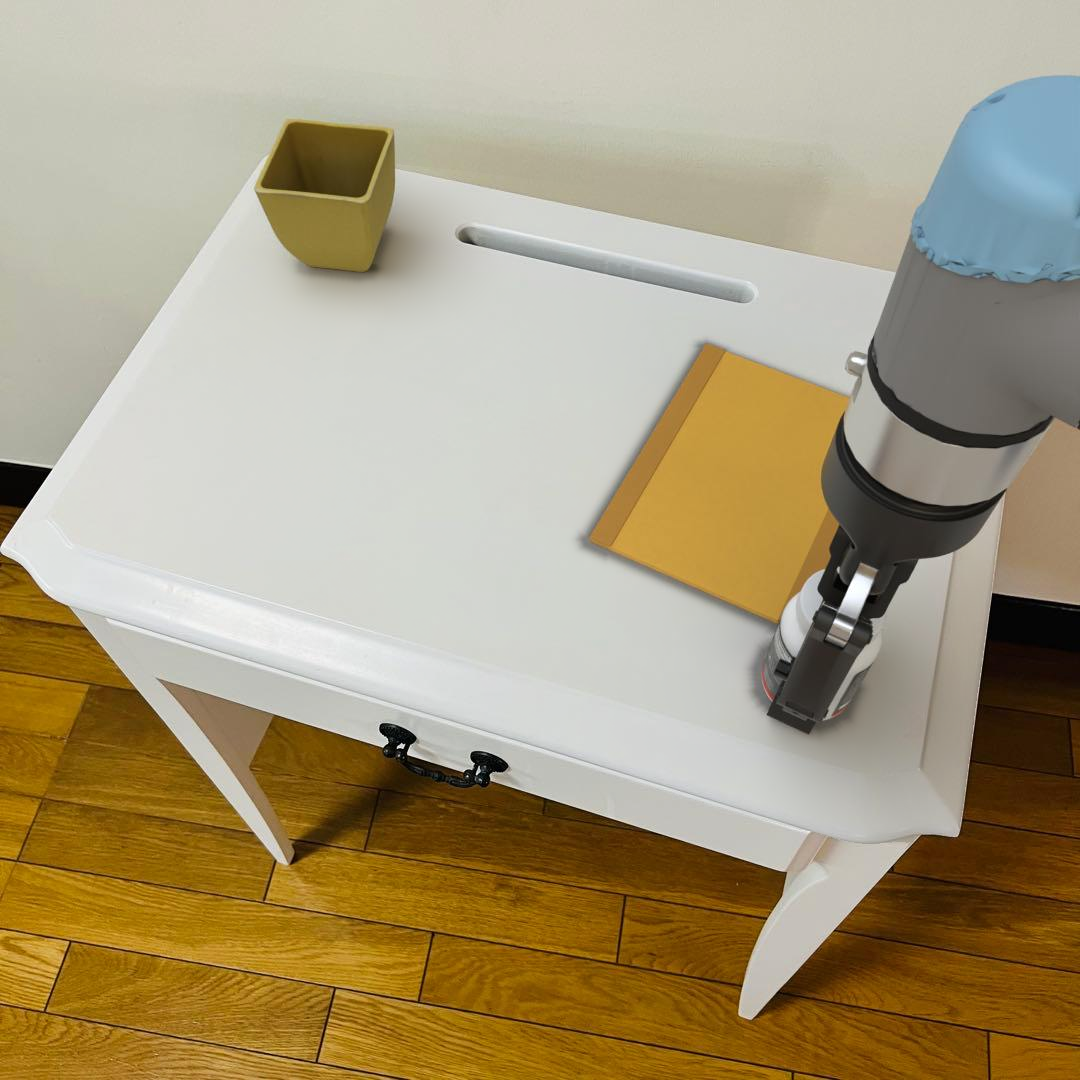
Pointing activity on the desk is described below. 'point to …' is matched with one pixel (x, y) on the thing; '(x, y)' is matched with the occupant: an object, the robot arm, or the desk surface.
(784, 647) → the pill bottle
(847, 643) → the robot arm
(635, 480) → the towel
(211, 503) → the desk surface
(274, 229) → the flower pot
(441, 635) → the desk surface
